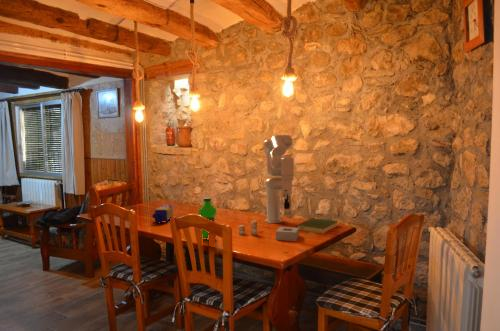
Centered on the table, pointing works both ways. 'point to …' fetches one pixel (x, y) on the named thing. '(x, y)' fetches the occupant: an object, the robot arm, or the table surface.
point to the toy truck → (163, 213)
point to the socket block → (287, 233)
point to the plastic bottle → (207, 213)
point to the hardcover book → (317, 225)
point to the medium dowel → (253, 227)
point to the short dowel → (241, 229)
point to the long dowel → (288, 210)
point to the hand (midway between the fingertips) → (287, 207)
